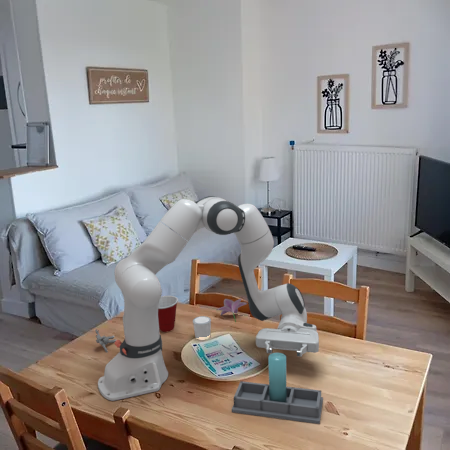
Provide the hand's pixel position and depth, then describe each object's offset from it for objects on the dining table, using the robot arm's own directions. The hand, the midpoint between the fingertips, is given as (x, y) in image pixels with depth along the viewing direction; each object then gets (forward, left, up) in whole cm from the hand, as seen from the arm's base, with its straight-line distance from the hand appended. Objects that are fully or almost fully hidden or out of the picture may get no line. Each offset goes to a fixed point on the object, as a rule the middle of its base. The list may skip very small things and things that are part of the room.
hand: (283, 352), depth 153 cm
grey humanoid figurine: (-41, +56, -11) cm, 70 cm away
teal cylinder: (-9, -9, -9) cm, 15 cm away
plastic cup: (-17, +55, -11) cm, 59 cm away
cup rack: (-9, -9, -10) cm, 16 cm away
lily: (+10, +49, -11) cm, 51 cm away
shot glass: (-8, +41, -11) cm, 44 cm away
